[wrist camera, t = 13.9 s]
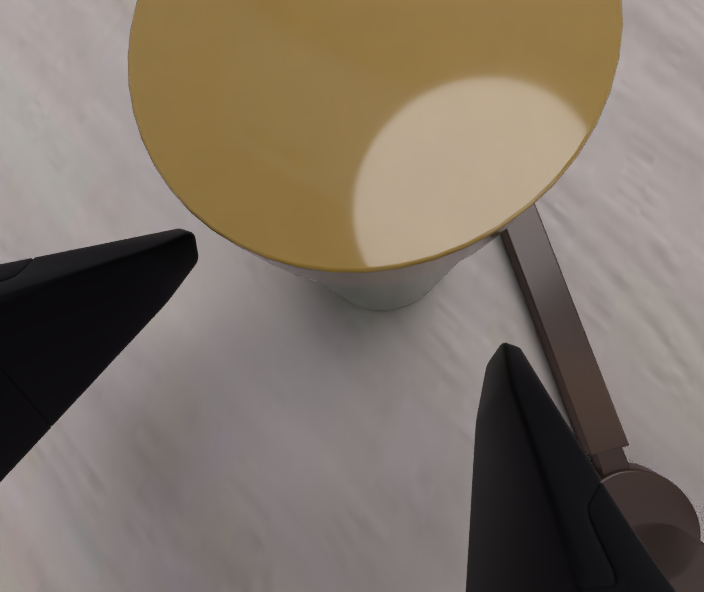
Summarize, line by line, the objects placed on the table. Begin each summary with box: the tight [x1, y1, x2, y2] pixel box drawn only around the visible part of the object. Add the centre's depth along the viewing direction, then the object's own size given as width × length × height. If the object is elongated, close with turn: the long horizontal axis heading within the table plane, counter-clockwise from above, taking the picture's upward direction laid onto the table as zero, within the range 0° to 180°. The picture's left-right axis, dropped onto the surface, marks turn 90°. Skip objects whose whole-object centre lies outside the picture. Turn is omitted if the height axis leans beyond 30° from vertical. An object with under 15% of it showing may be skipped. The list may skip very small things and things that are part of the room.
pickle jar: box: [128, 0, 623, 311], centre depth 11 cm, size 7×7×12 cm
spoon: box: [501, 203, 704, 592], centre depth 15 cm, size 19×4×1 cm, turn 17°
